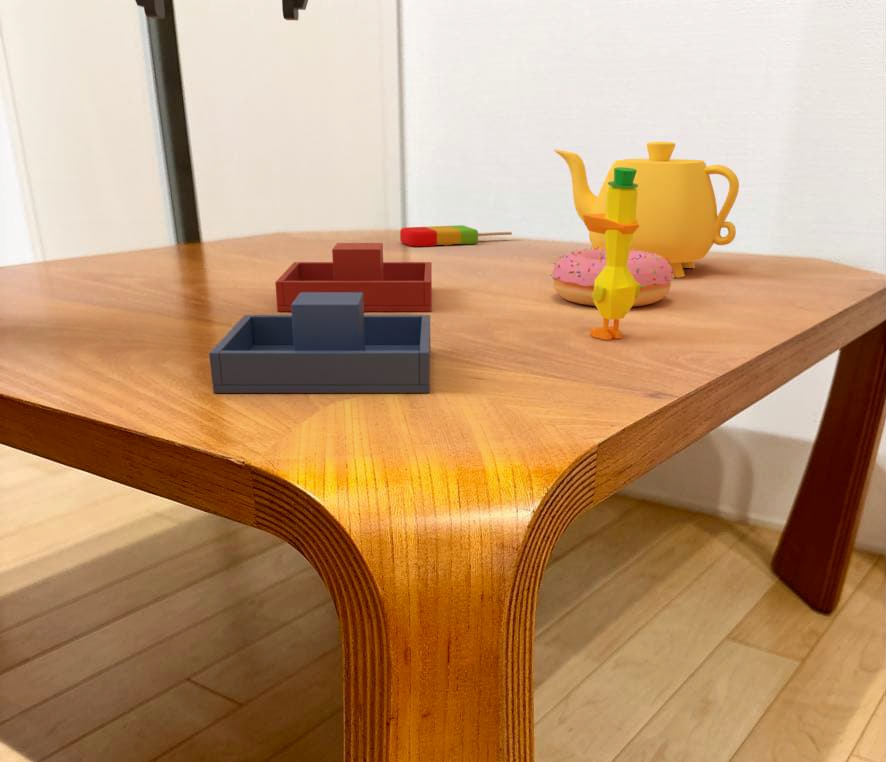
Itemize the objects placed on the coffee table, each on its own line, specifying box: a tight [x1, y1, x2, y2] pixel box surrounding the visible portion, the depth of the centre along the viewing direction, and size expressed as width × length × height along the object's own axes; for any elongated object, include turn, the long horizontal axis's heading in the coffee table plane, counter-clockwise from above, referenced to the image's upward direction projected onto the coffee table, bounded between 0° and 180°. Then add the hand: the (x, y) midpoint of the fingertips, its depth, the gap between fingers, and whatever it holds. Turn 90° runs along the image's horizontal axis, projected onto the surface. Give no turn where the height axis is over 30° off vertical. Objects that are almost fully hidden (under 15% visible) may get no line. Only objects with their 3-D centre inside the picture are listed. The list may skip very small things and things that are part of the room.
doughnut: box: [549, 247, 675, 308], centre depth 83 cm, size 11×11×4 cm
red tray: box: [274, 261, 433, 313], centre depth 83 cm, size 13×11×2 cm
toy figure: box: [583, 167, 641, 341], centre depth 67 cm, size 7×4×12 cm, turn 27°
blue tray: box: [208, 314, 431, 394], centre depth 60 cm, size 13×11×2 cm
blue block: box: [291, 292, 365, 351], centre depth 60 cm, size 4×4×4 cm
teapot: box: [553, 141, 740, 278], centre depth 97 cm, size 14×20×13 cm
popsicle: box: [399, 224, 513, 248], centre depth 119 cm, size 6×15×2 cm, turn 110°
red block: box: [331, 242, 384, 281], centre depth 82 cm, size 4×4×4 cm
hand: (222, 18), depth 57 cm, fingers open, 8 cm apart
